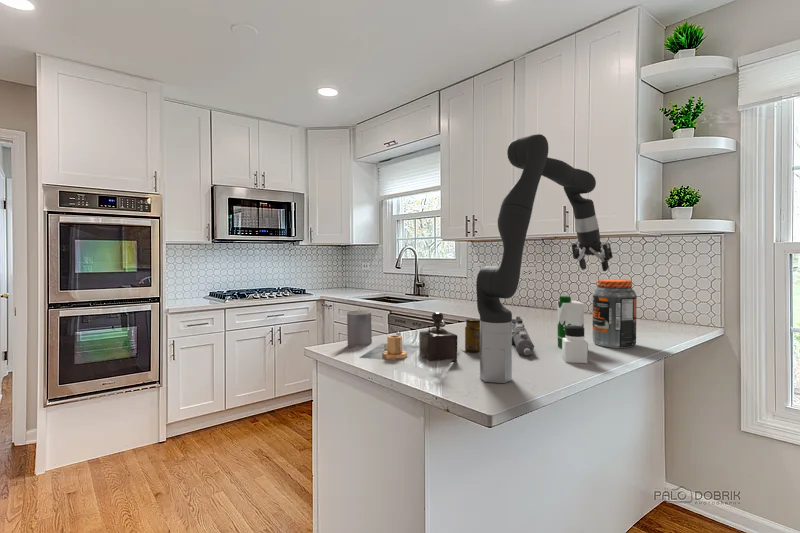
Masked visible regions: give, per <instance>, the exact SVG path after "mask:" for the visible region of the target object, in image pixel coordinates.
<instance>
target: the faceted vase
mask: <svg viewBox="0 0 800 533" xmlns="http://www.w3.org/2000/svg"><path fill="white" fill-rule="evenodd" d="M386 344H387V349H388V350H387V351H384V352H383V353H382V357H383V358H385V359H391V360H390V361H397V360H398V359H405V358H406V357H407V352H406V351H403V350H402V345H403V337H402V335H400V336H397V335H396V334H395V335H388V336H387V343H386ZM406 359H407V358H406ZM406 359H405V360H406Z"/></svg>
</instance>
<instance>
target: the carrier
mask: <svg viewBox="0 0 800 533" xmlns="http://www.w3.org/2000/svg"><path fill="white" fill-rule="evenodd" d="M395 335H397V336H401V332H399V331H397V332H396V333H395ZM418 349H419V345H417V344H416V345H415V344H402V350H403V351H406V352H407V357H406V358H405V359H398V360H396V361H398V362H399V361H400V362H404V361H405V360H406V359H408V358H409V357H410V356H411V355H412V354H413V353H415V352H416V351H417V350H418ZM387 350H388V349H387V343H383V342H382V343H381V344H379V345H377V346H376V347H374V348H373V349H371V350H369V351H367V352H366V353H364V354H363V355H361V356H360V357H359V359H370V360H373V359H375V360H382V361H383V360H385V361H392V360H391V359H385V358H383V357H382V353H383V352H384V351H387Z"/></svg>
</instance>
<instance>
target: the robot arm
mask: <svg viewBox="0 0 800 533" xmlns="http://www.w3.org/2000/svg"><path fill="white" fill-rule="evenodd" d="M506 153H507V159H508V161H509V163H510V164H511V165H512V166H514V167H515V168H517V169H521V170H522V173H521V174H520V176H519V178H518V179H517V181H516V182H515V184H514V185H513V186H512V187H511V189H510V190H509V191H508V192H507V193H506V195H505V196H504V198H503V199H502V202H501V204H500V209H499V212H498V217H497V229H498V234H499V236H500V238H501V242H502V244H503V245H502V246H503V251H502V252H503V253H502V258H501V262H500V265H496V266H495V265H488V266H487V265H486V266H483V267H482V268H481V269H479V270H478V273H477V276H476V282H475V284H476V286H475V287H476V306H477V311H478V314H479V320H480V354H479V379H481V380H482V381H483V382H485V383H498V384H506V383H508V382H511V381H512V379H513V363H512V362H513V360H512V359H513V353H512V352H513V345H512V319H513V314H512V311H511V310H510V309H508V308H507V307H505V306H504V305H503V304H502V303H501V299H510V298H512V297H514V295H515V293H516V292H517V289H518V287H519V281H520V277H521V276H520V275H521V268H522V260H523V253H524V248H525V243H526V238H527V233H528V229H529V226H530V223H531V222H530V221H531V218H532V215H533V214H532V213H533V209H534V202H535V199H536V195H537V191H538V187H539V184H540V180H541V177H544V178H546V179H549V180H550V181H553V182H554V183H556V184H558V185H559V186H561V187H563V191H564V193H565V196H566V197H567V200H568V201H569V203H570V205H571V207H572V211H573V216H574V217H573V218H574V224H575V225H574V226H575V232H576V237H577V241H578V242H577V241H576V242H575V243H573V244H571V251H572V258H573V260H578V263H579V268H580V269H581V270H582V271H584V270H586V269H587V263H586V259H585V258H586V256H595V257H596V258H598V259H599V260H600V261H601V269H602V272H606V271H608V270H609V269H610V268H609V260H611V259H612V258H613V251H612V248H611V243H610V242H606V243H602V242H601V234H600V228H599V223H598V222H599V221H598V218H597V215H596V209H595V204H594V201H593V199H590V198H584V197H582V195H583V194H589V193H592V192H593V191H594V190H595V188H596V185H597V181H596V177H595V176H594V175H593V174H592V173H591V172H589V171H587V170H583V169H580V168H575V167H573V166H572V165H570V164H568V163H567V162H566V161H564V160H560V159H557V158H552V157H549V156H548V155H549V142H548V138H546V136H544V135H543V134H540V133H538V134H531V135H528V136H527V135H526V136H522V137H519V138H516V139H514V140H511V142H510V143H509V145H508V146H507V152H506ZM580 250H581V251H580Z"/></svg>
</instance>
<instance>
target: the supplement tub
mask: <svg viewBox="0 0 800 533" xmlns="http://www.w3.org/2000/svg"><path fill="white" fill-rule="evenodd" d="M596 282H597V283H596V288H595V289H594V290H593V291H592V292H593V293H592V342H593V343H594V344H596V345H597V346H600V347H601V346H602V347H604V348H605V347H607V348H611V349H612V348H614V349H627V348H628V349H629V348H633V347H635V346H636V344H637V302H638V301H637V298H638V297H637V293H636V291H635V290H634V289H633V288H632V286H633V281H632V280H630V279H620V278H619V279H617V278H606V279H605V278H602V279H597V281H596Z"/></svg>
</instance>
